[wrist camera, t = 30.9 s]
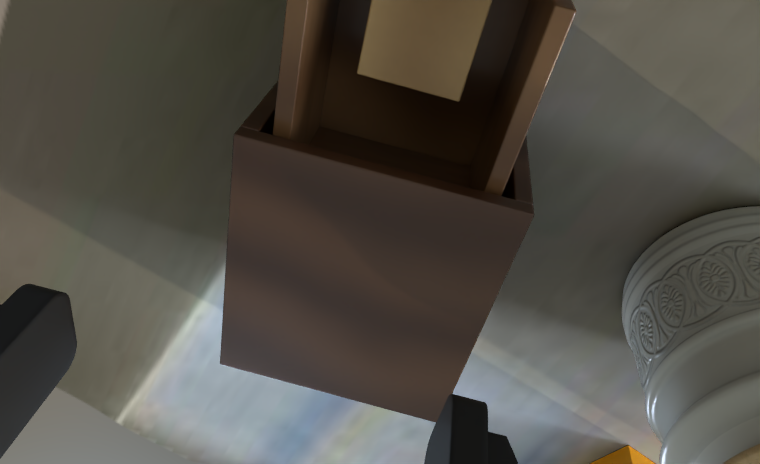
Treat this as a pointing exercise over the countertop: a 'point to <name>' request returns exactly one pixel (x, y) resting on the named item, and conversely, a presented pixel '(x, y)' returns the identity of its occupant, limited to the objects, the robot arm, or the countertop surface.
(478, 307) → the cabinet
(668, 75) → the countertop surface
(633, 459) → the orange juice
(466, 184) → the drawer
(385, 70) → the block
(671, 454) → the jar
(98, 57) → the countertop surface
